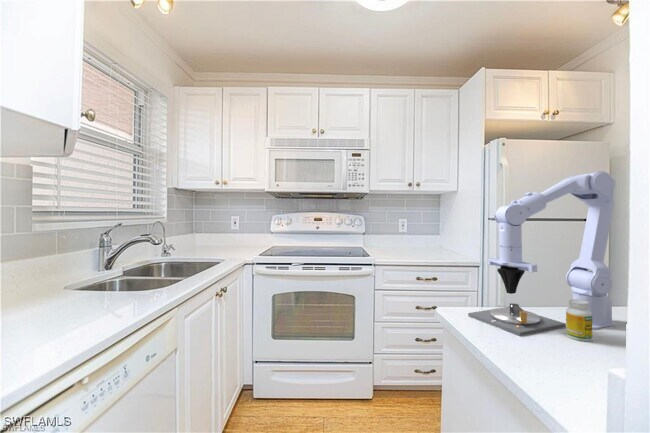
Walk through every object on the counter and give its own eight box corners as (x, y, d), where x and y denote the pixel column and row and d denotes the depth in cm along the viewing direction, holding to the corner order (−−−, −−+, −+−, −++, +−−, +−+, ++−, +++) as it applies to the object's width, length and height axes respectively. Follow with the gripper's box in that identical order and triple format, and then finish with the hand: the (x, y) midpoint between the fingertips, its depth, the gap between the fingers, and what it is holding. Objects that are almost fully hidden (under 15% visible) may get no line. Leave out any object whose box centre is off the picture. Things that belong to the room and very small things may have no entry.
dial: (485, 310, 104) (485, 297, 104) (530, 312, 101) (530, 299, 101) (498, 325, 90) (497, 310, 90) (550, 328, 87) (550, 313, 87)
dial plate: (509, 309, 108) (509, 306, 108) (565, 326, 91) (565, 322, 91) (468, 316, 101) (468, 312, 101) (520, 336, 84) (519, 331, 84)
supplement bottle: (571, 332, 87) (570, 297, 86) (595, 338, 82) (595, 301, 82) (562, 337, 84) (562, 300, 84) (588, 343, 79) (587, 305, 79)
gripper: (479, 245, 98) (480, 288, 98) (523, 249, 84) (524, 300, 84) (497, 243, 100) (497, 286, 100) (542, 248, 87) (543, 297, 87)
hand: (511, 293), depth 92 cm, fingers closed
